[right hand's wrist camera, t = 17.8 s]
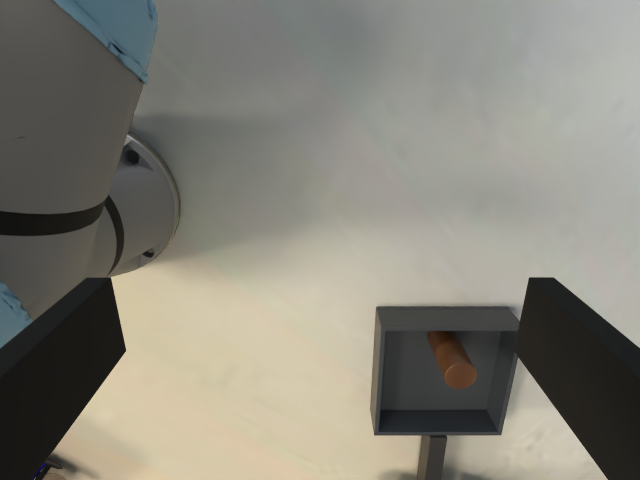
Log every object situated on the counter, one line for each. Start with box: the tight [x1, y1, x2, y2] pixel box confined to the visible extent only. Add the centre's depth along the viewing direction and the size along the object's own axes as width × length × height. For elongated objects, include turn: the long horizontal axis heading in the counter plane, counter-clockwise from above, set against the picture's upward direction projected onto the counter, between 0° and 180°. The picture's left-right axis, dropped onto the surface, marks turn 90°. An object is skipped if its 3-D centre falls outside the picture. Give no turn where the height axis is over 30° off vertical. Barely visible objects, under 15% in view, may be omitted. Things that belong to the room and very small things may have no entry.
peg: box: [427, 331, 477, 389], centre depth 43 cm, size 3×3×7 cm
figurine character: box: [32, 460, 65, 480], centre depth 50 cm, size 7×8×15 cm
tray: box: [370, 307, 520, 480], centre depth 49 cm, size 29×15×4 cm, turn 0°
